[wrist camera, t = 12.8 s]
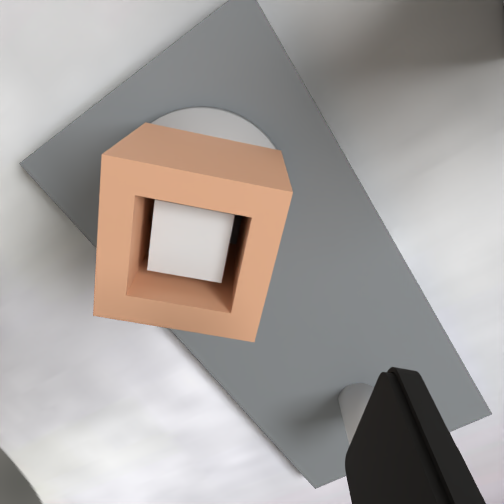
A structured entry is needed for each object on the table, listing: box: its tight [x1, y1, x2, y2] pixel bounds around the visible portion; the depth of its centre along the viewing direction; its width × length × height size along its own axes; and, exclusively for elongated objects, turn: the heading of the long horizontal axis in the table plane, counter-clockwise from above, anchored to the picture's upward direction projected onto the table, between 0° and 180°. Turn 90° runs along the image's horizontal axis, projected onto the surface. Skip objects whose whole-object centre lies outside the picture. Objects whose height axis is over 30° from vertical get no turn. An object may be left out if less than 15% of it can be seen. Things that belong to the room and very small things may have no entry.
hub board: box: [19, 0, 492, 489], centre depth 22 cm, size 28×13×8 cm, turn 34°
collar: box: [93, 123, 293, 342], centre depth 17 cm, size 6×6×6 cm
